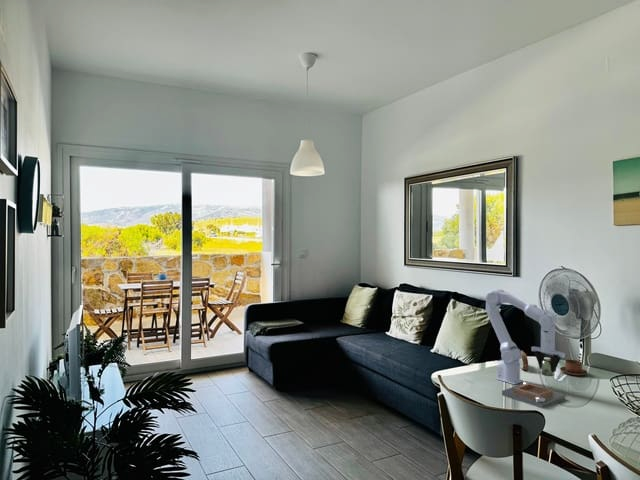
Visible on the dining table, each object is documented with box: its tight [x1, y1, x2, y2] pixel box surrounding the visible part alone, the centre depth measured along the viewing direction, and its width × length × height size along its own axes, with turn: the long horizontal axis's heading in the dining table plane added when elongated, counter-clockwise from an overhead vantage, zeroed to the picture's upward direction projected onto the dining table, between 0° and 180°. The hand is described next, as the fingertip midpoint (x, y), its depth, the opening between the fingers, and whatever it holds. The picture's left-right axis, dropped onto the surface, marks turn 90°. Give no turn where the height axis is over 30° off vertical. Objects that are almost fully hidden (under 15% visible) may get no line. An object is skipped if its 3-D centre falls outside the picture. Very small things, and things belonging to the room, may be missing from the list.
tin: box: [519, 350, 529, 371], centre depth 234 cm, size 15×3×8 cm, turn 168°
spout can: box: [541, 357, 555, 377], centre depth 200 cm, size 5×5×8 cm
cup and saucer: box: [559, 359, 588, 377], centre depth 224 cm, size 12×12×6 cm
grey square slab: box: [501, 380, 566, 409], centre depth 190 cm, size 18×18×4 cm
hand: (547, 370), depth 200 cm, fingers closed on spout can, 5 cm apart
